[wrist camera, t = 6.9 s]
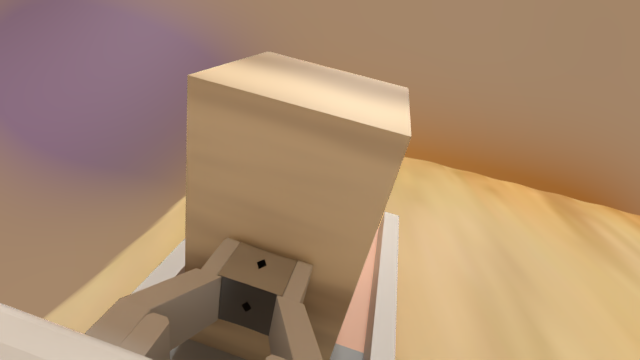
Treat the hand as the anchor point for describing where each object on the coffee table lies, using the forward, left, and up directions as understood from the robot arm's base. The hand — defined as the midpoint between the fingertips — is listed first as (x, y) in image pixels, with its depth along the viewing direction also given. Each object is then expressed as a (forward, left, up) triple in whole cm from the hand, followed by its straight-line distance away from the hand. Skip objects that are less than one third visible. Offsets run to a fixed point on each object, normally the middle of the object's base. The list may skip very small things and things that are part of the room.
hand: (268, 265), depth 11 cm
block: (-2, -2, -6) cm, 6 cm away
